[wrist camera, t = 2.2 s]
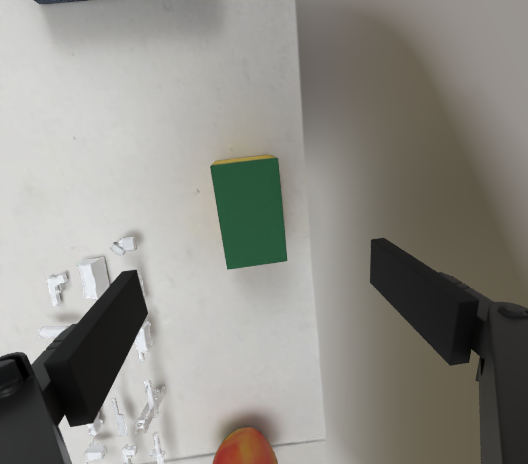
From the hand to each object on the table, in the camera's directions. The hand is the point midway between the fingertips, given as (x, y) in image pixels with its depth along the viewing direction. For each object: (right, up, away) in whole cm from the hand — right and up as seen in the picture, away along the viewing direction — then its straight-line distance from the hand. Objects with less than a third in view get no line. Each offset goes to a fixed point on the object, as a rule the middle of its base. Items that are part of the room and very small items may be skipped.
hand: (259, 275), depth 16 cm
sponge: (-2, +6, +17) cm, 18 cm away
